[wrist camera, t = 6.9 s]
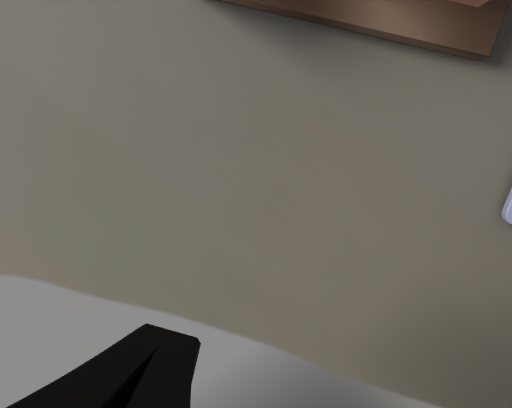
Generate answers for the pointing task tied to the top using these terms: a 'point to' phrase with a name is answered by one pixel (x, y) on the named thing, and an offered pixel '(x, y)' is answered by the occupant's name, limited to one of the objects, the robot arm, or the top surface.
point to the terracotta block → (471, 2)
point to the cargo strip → (403, 21)
